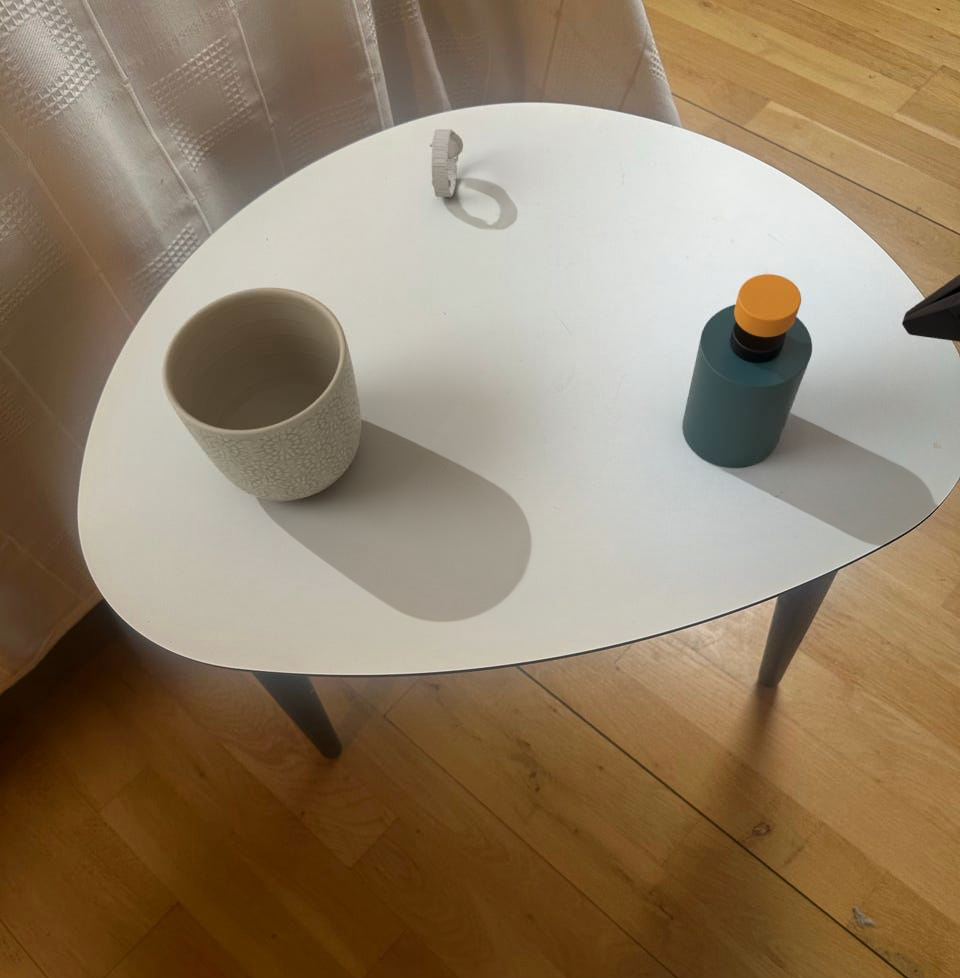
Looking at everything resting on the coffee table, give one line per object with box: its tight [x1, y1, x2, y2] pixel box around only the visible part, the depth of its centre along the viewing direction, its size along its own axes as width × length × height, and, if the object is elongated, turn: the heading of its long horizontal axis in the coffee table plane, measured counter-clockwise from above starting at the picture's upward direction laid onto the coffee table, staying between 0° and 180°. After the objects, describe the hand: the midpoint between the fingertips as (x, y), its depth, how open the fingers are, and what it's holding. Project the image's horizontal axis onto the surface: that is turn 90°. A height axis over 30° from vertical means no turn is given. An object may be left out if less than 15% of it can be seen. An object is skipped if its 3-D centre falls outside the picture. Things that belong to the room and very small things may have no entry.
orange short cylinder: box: [734, 273, 802, 337], centre depth 56 cm, size 4×4×2 cm
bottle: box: [681, 303, 813, 469], centre depth 63 cm, size 7×7×10 cm
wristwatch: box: [429, 128, 464, 198], centre depth 78 cm, size 3×5×5 cm, turn 173°
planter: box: [161, 287, 362, 502], centre depth 64 cm, size 12×12×11 cm
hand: (906, 324), depth 53 cm, fingers closed
